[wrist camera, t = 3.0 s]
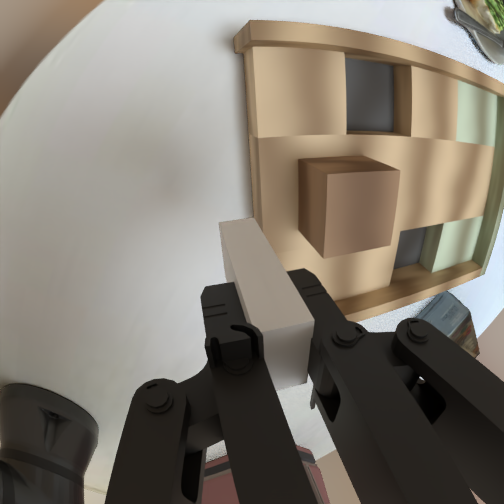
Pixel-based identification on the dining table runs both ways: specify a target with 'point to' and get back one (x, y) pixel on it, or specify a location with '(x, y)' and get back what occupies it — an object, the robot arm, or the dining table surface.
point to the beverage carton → (452, 321)
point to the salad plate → (484, 25)
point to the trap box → (376, 155)
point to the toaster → (223, 488)
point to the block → (346, 203)
